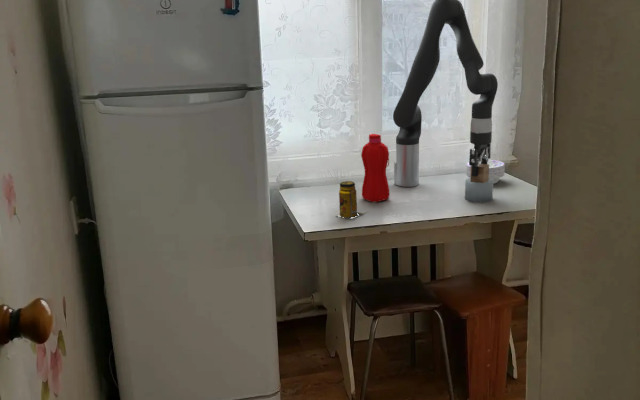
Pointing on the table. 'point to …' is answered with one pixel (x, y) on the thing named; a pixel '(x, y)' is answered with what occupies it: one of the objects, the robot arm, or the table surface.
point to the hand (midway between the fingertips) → (479, 173)
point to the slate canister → (478, 191)
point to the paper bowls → (491, 170)
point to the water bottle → (375, 170)
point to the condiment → (348, 200)
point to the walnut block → (481, 174)
